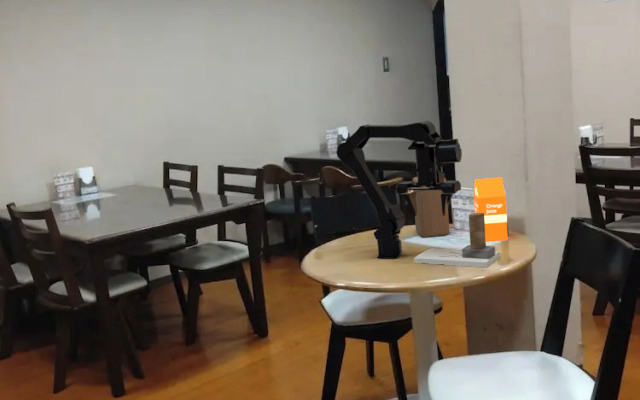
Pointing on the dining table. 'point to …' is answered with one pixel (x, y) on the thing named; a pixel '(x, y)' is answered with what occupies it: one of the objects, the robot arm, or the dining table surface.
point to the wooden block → (430, 213)
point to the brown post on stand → (477, 239)
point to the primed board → (452, 258)
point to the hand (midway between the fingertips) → (430, 215)
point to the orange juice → (492, 207)
